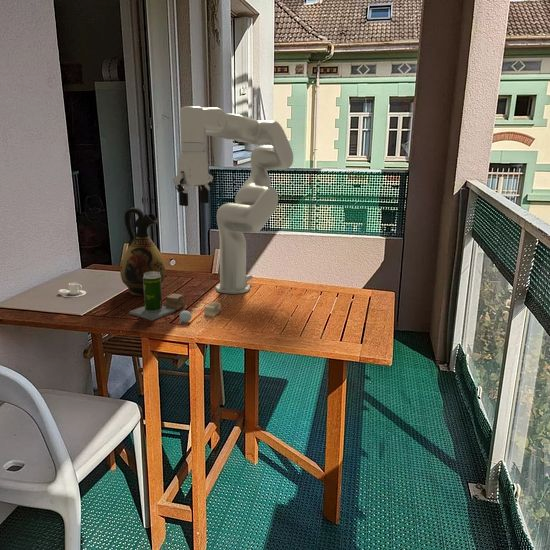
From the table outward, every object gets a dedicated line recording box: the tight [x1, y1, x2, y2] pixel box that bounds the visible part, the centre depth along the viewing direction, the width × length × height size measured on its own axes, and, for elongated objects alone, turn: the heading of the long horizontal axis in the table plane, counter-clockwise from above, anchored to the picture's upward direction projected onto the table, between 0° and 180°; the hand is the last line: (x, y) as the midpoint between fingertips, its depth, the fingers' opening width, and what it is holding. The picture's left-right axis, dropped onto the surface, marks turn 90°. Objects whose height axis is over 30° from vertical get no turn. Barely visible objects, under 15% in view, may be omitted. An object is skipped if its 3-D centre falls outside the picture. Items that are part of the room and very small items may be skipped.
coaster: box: [128, 305, 176, 321], centre depth 154 cm, size 10×10×1 cm
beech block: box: [204, 301, 222, 317], centre depth 155 cm, size 5×3×3 cm, turn 159°
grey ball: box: [178, 310, 192, 323], centre depth 147 cm, size 4×4×4 cm
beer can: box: [143, 271, 163, 313], centre depth 153 cm, size 5×5×12 cm
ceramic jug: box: [119, 206, 166, 297], centre depth 171 cm, size 17×15×30 cm
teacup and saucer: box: [57, 282, 87, 298], centre depth 171 cm, size 9×8×4 cm
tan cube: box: [165, 293, 185, 311], centre depth 159 cm, size 4×4×4 cm
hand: (194, 204), depth 155 cm, fingers open, 9 cm apart
